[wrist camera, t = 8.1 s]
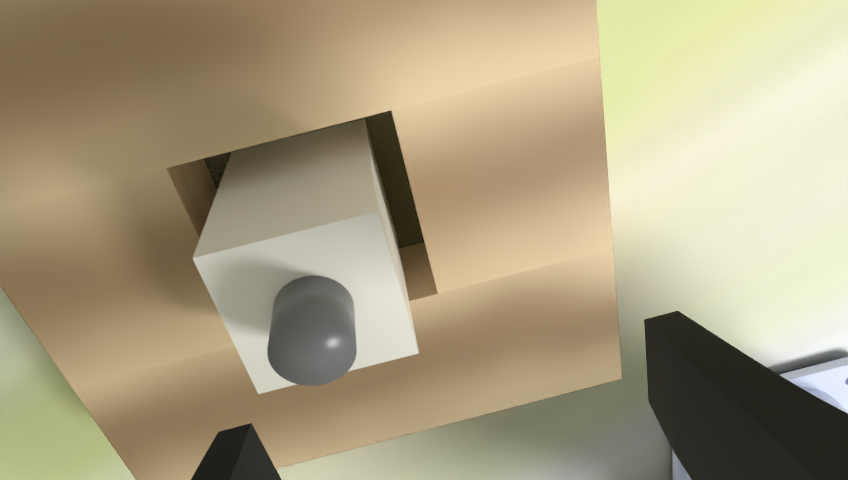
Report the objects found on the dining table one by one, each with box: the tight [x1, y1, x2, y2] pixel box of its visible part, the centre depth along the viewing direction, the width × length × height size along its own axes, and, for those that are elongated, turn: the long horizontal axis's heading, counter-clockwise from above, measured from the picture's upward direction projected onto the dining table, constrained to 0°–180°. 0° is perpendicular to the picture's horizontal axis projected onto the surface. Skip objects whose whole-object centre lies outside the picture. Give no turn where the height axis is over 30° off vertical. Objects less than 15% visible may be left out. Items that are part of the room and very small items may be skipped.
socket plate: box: [0, 0, 622, 480], centre depth 18 cm, size 16×16×3 cm
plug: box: [193, 118, 419, 394], centre depth 16 cm, size 4×4×8 cm
